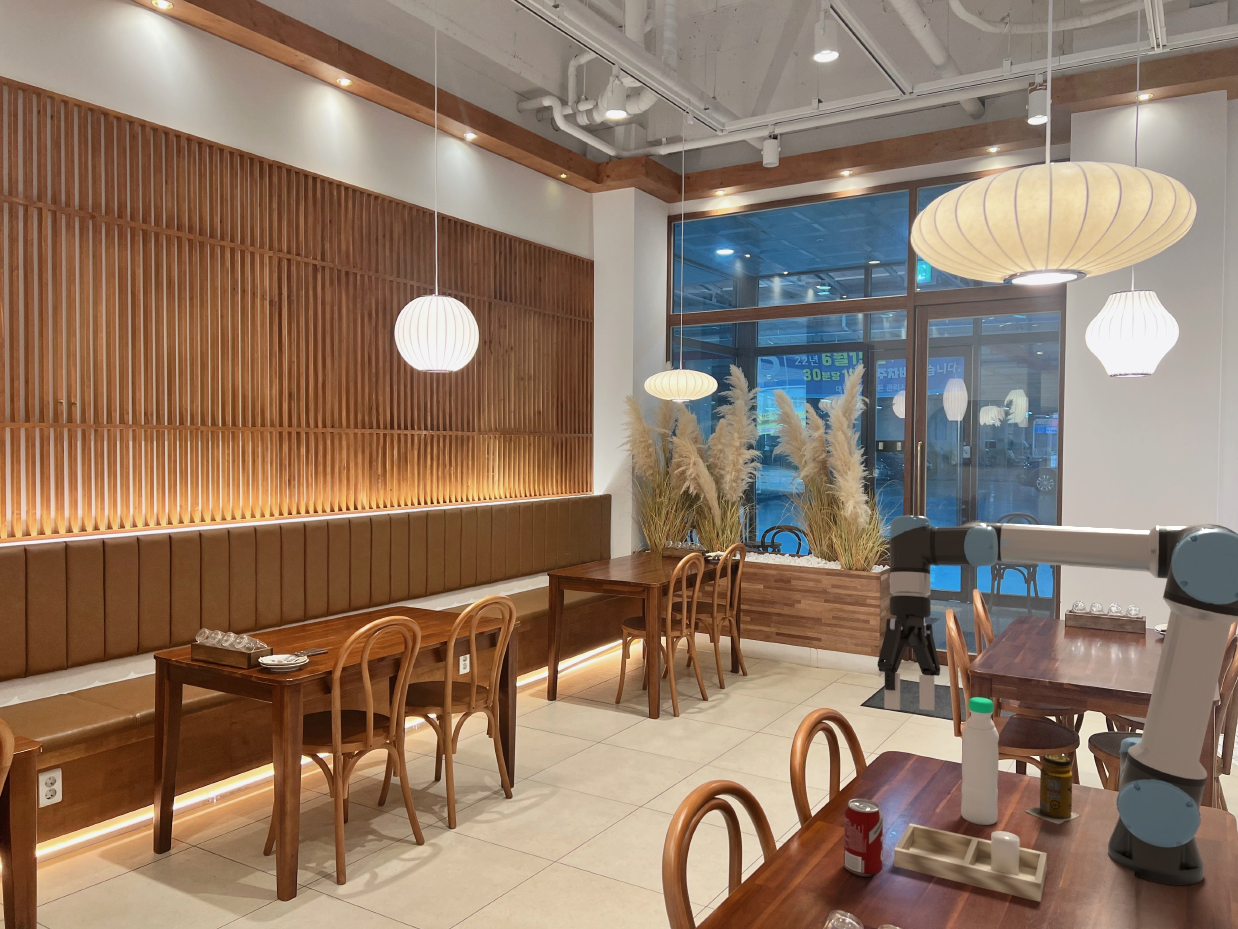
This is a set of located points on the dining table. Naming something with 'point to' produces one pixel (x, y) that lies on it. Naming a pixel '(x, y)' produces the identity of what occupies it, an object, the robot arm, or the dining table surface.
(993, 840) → the salt shaker
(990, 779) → the water bottle
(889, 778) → the dining table surface
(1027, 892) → the drink caddy
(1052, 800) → the condiment
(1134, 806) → the robot arm
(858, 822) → the soda can
